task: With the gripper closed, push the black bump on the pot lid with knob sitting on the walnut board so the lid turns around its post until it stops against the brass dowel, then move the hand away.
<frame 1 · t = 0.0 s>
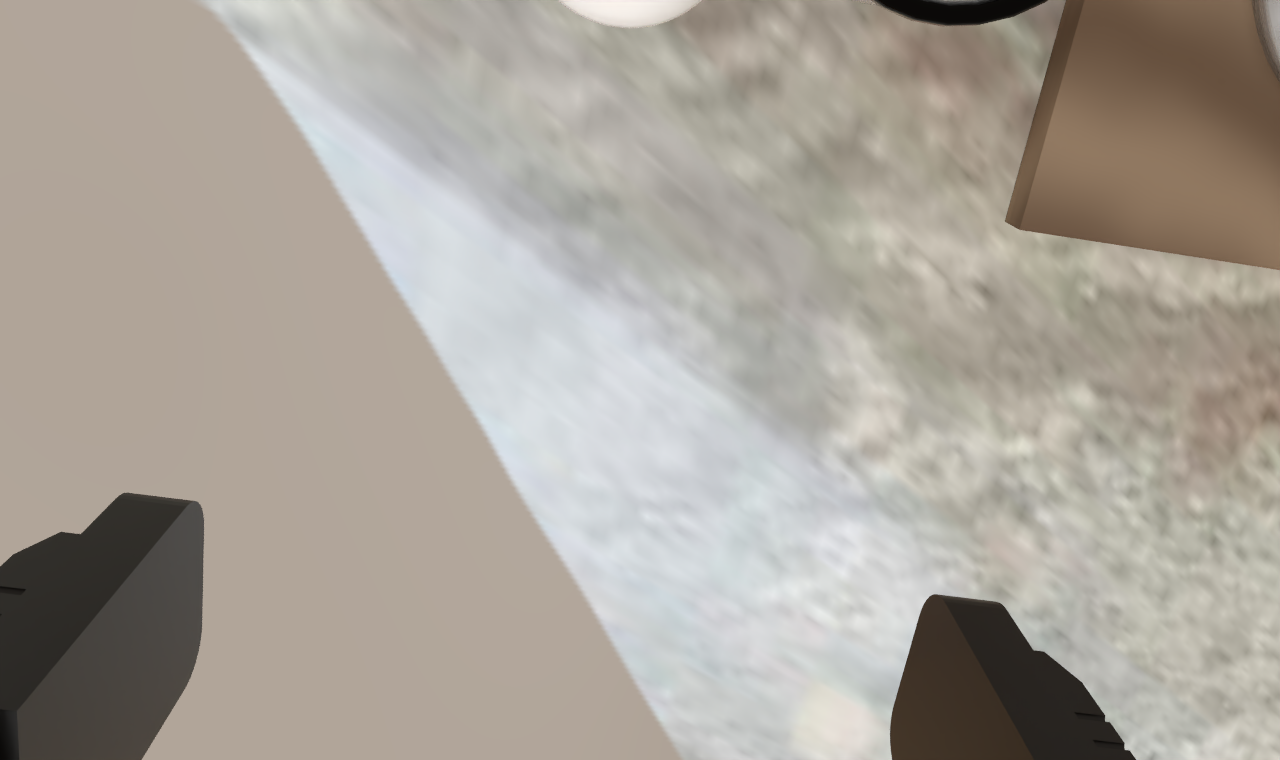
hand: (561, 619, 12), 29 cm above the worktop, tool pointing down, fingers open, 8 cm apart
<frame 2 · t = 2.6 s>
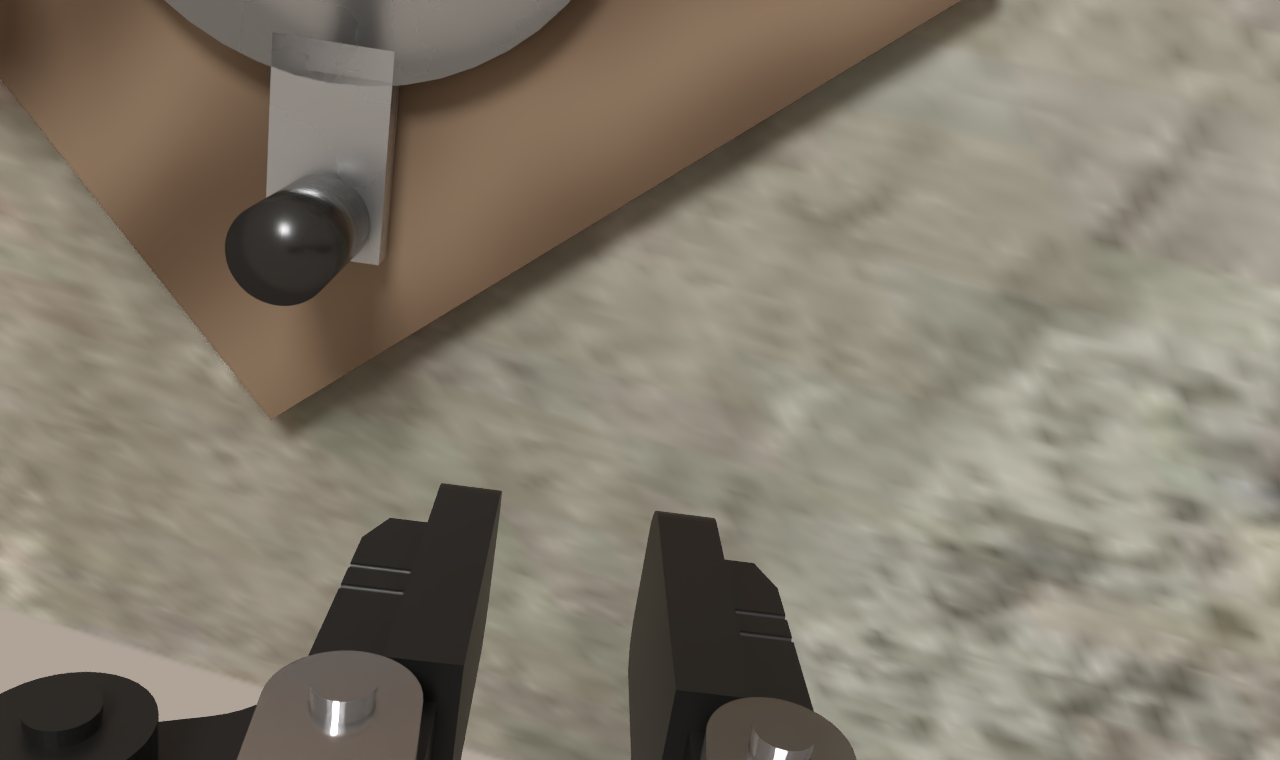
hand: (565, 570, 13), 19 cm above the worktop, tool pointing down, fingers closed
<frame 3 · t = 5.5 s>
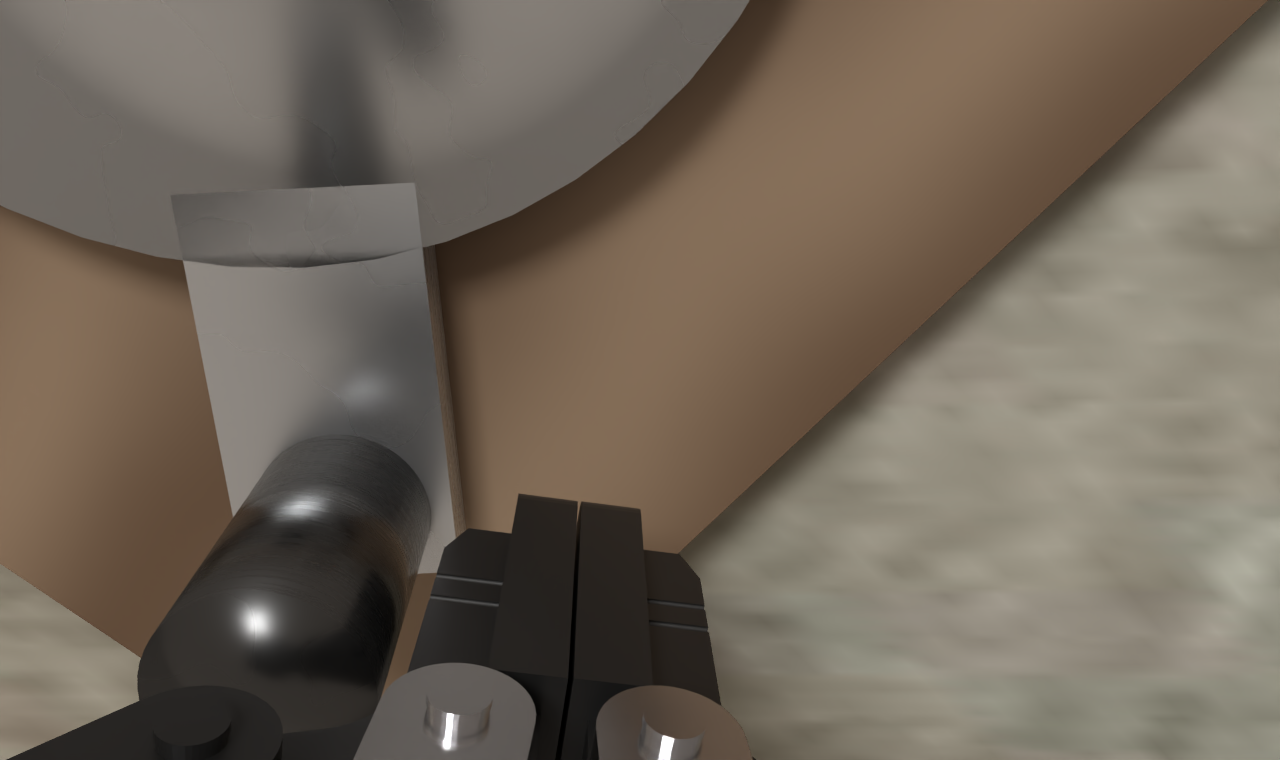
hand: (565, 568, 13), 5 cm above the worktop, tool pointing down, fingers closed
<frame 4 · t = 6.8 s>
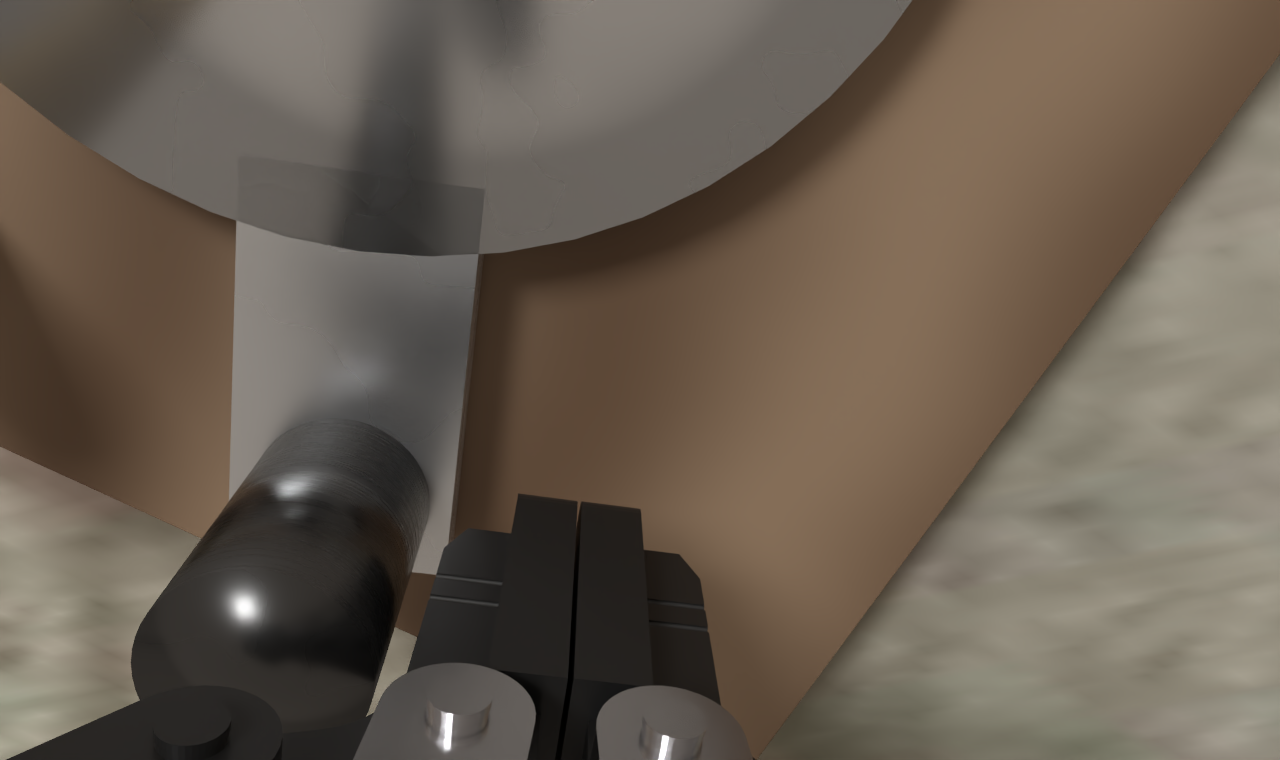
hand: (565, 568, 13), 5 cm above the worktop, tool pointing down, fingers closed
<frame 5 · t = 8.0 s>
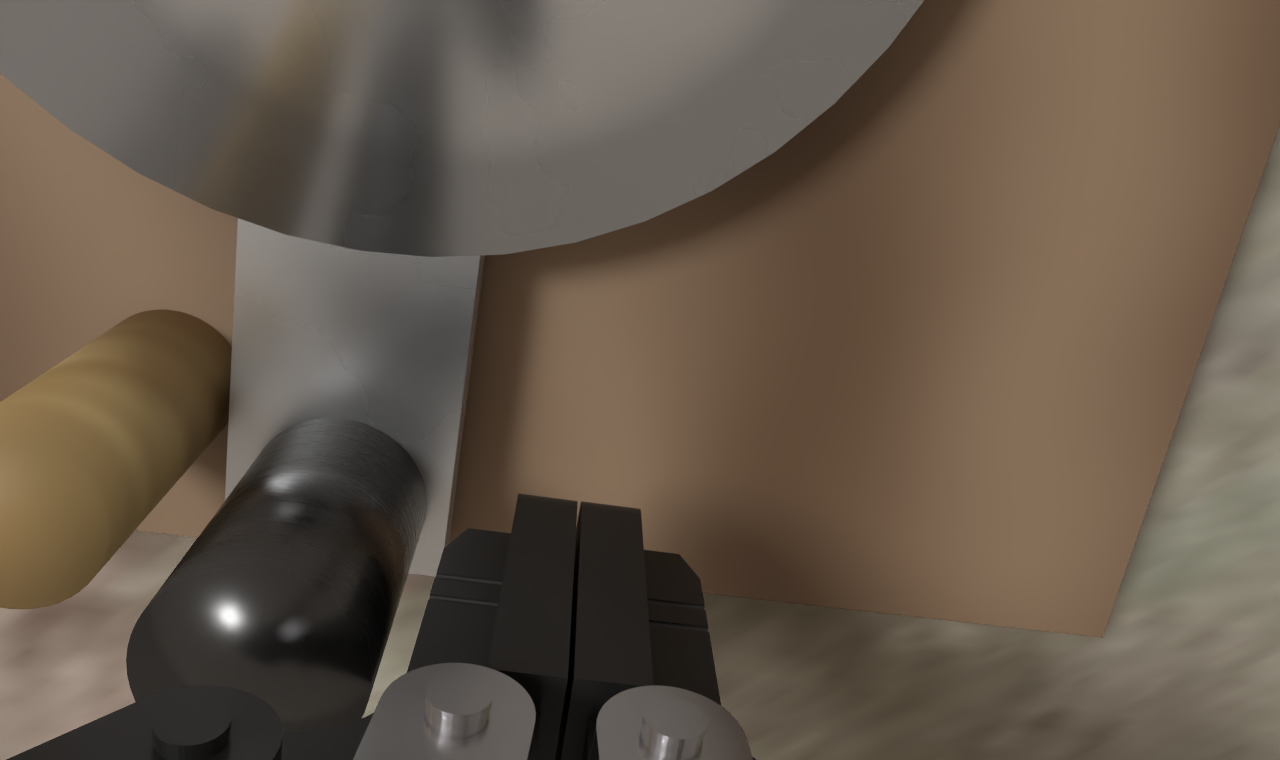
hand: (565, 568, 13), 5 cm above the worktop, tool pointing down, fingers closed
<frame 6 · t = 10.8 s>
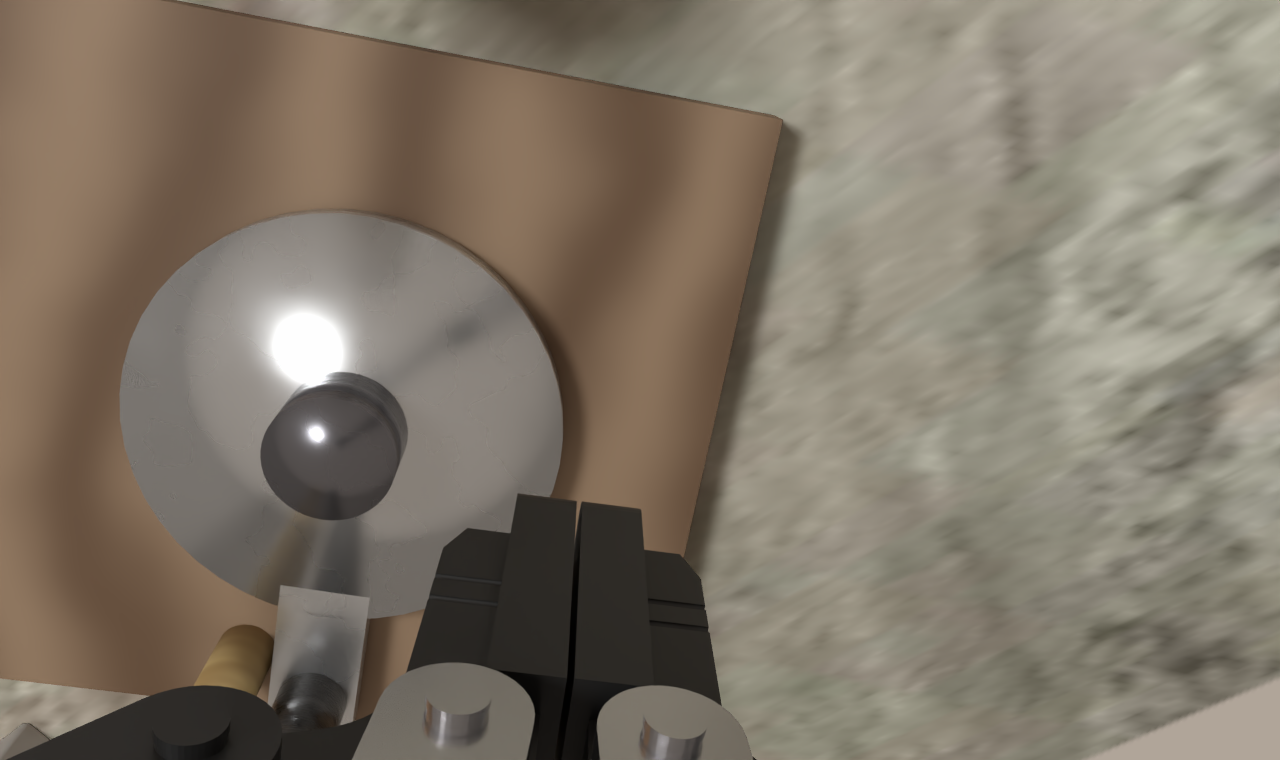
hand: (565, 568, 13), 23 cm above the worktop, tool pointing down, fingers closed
walnut board: (361, 401, 36), on the worktop
pot lid with knob: (326, 516, 33), point 4 cm above the worktop, hinge at -0.9°
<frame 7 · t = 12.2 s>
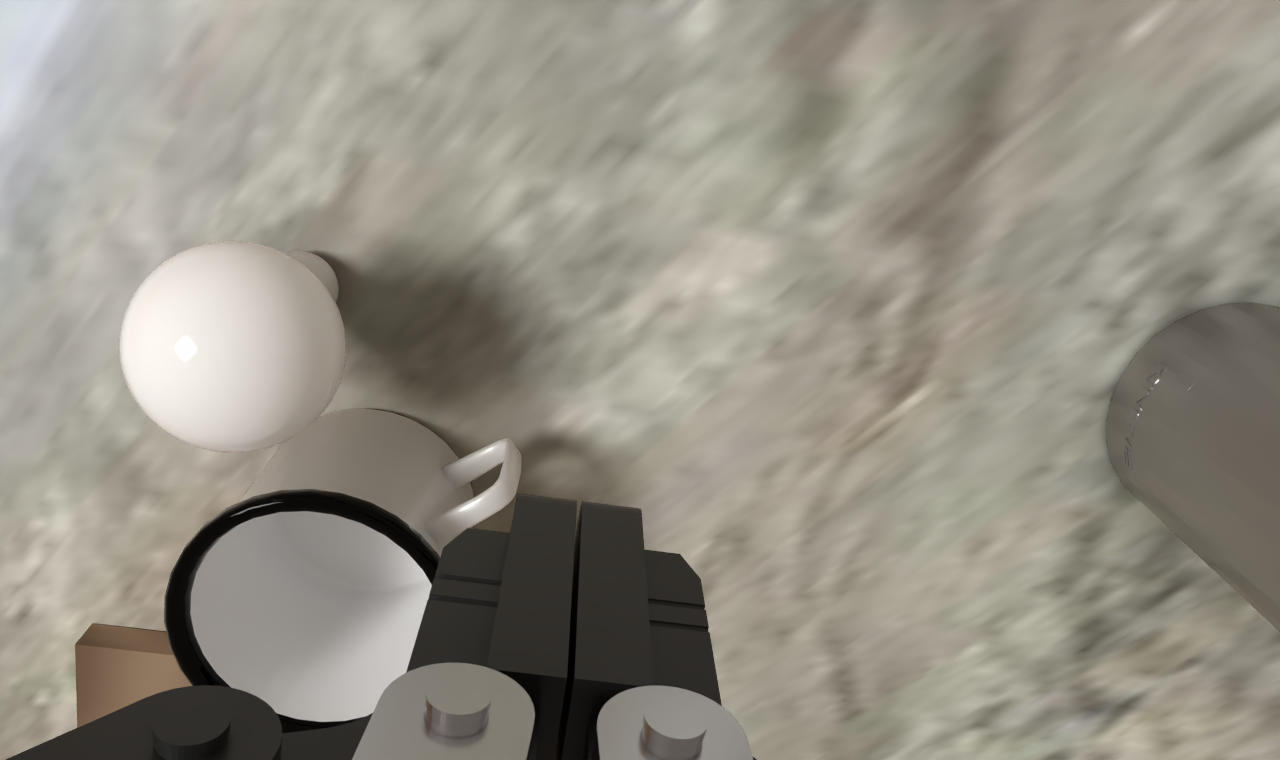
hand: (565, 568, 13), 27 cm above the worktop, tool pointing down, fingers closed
lightbulb: (308, 280, 39), on the worktop
mug: (398, 485, 42), on the worktop
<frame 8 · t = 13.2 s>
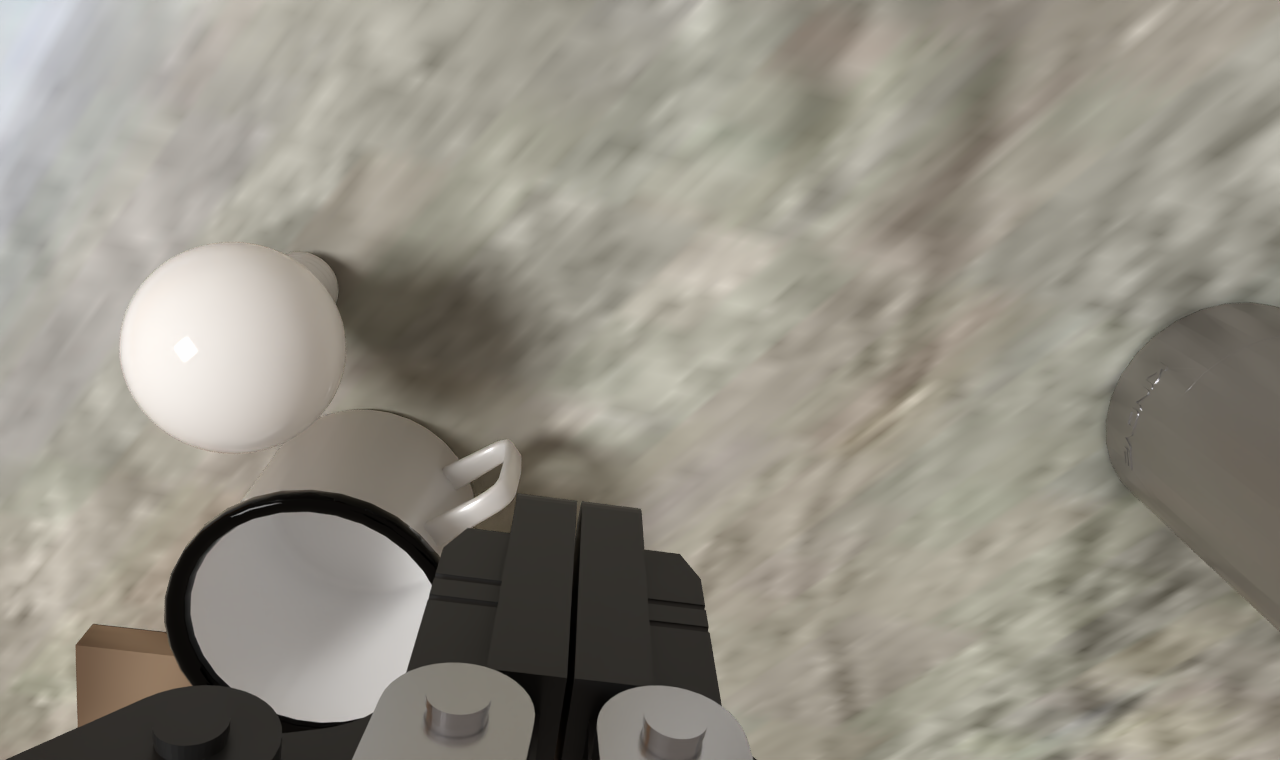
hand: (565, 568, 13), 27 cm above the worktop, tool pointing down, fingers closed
lightbulb: (308, 281, 39), on the worktop
mug: (398, 486, 42), on the worktop
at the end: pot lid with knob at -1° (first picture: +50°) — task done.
